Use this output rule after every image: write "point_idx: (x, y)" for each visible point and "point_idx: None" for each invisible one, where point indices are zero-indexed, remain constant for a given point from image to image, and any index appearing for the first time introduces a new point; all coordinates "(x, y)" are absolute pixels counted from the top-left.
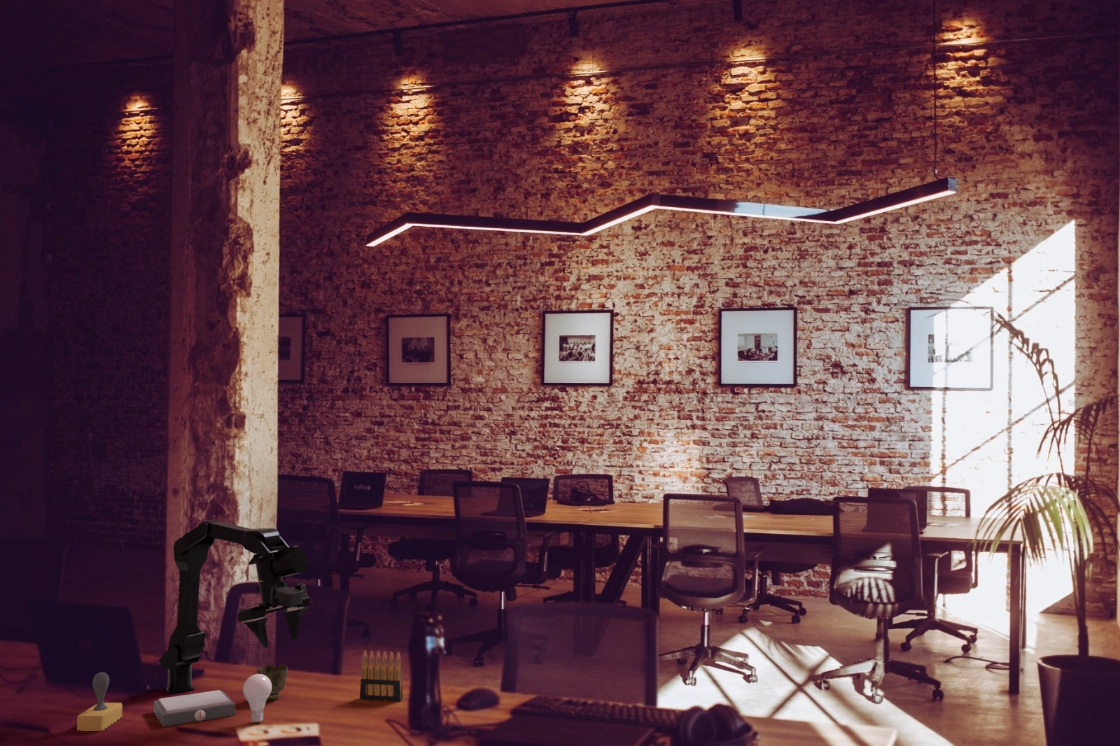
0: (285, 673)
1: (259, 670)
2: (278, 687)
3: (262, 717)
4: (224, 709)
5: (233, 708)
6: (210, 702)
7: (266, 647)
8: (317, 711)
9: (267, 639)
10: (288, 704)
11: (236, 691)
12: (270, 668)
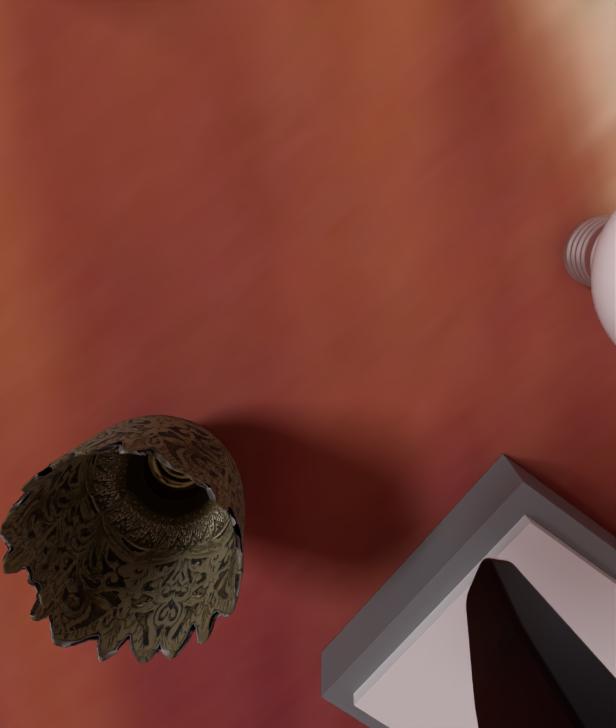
0: (106, 439)
1: (235, 597)
2: (190, 422)
3: (603, 216)
4: (561, 505)
5: (521, 476)
6: (586, 602)
7: (500, 563)
8: (275, 28)
9: (534, 646)
10: (226, 306)
11: (151, 696)
12: (69, 607)
